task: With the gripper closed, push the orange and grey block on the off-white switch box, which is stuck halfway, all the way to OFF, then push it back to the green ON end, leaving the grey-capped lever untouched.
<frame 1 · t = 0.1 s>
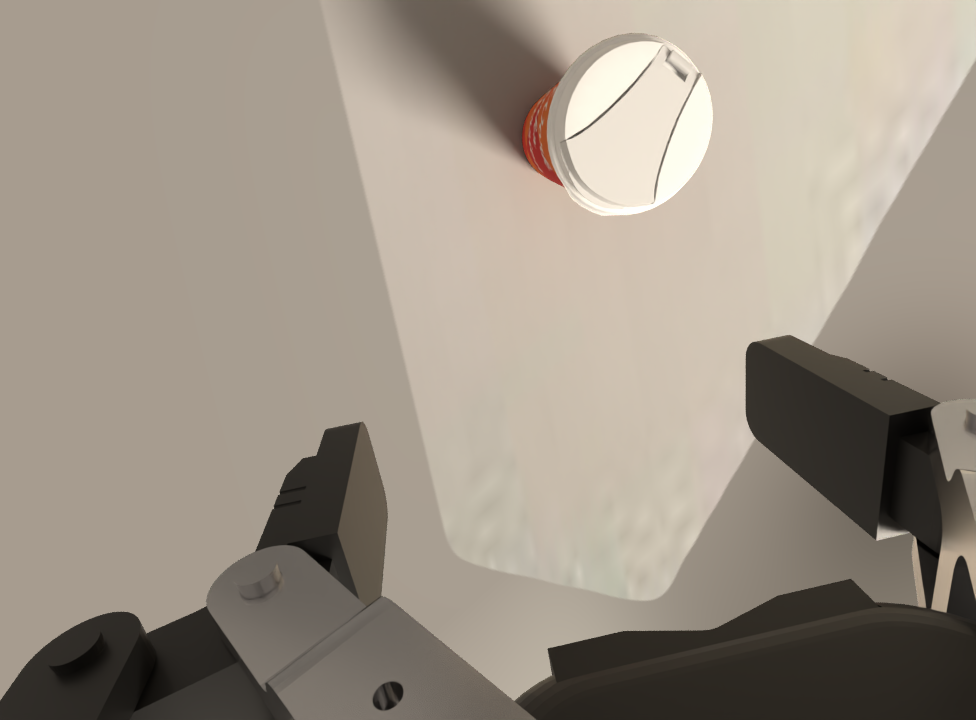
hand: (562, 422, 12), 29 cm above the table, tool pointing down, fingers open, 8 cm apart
paper cup: (561, 137, 38), on the table
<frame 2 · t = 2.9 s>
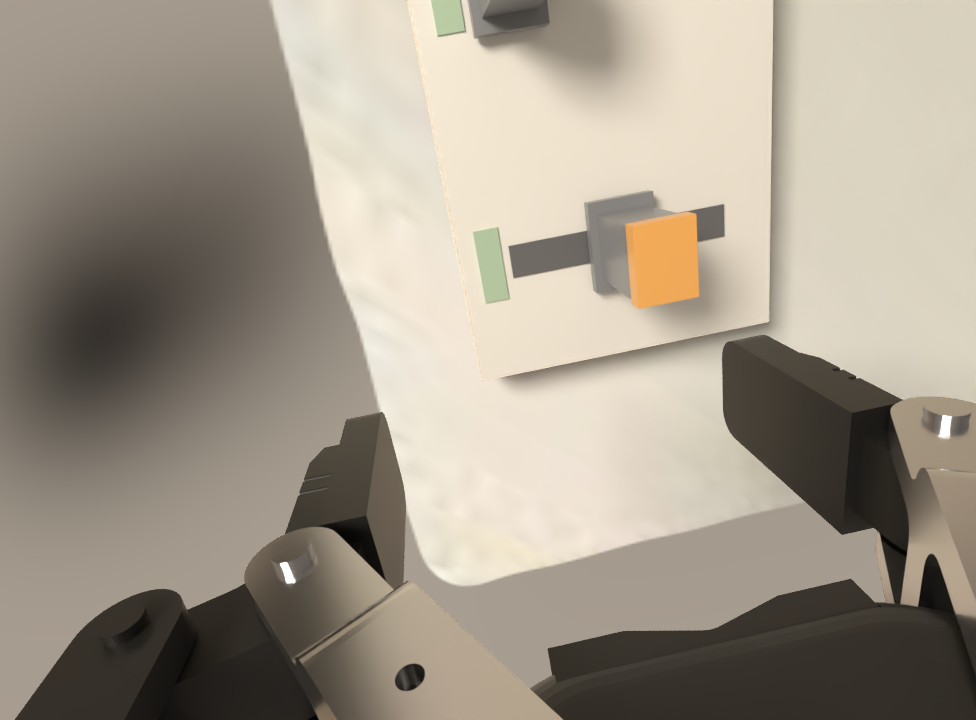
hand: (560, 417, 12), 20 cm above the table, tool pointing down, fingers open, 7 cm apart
switch box: (588, 115, 29), on the table
orange and grey block: (640, 251, 25), point 6 cm above the table, slide at 0.0 cm
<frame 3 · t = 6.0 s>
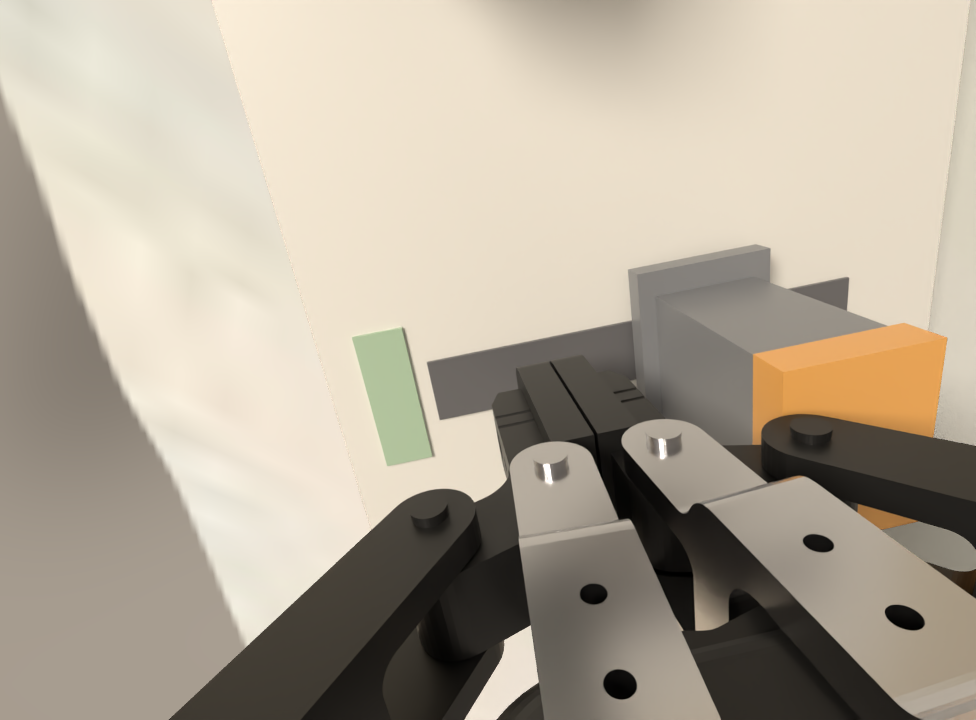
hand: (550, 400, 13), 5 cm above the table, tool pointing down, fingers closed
switch box: (586, 105, 15), on the table
orange and grey block: (758, 384, 12), point 6 cm above the table, slide at -1.3 cm, touching gripper
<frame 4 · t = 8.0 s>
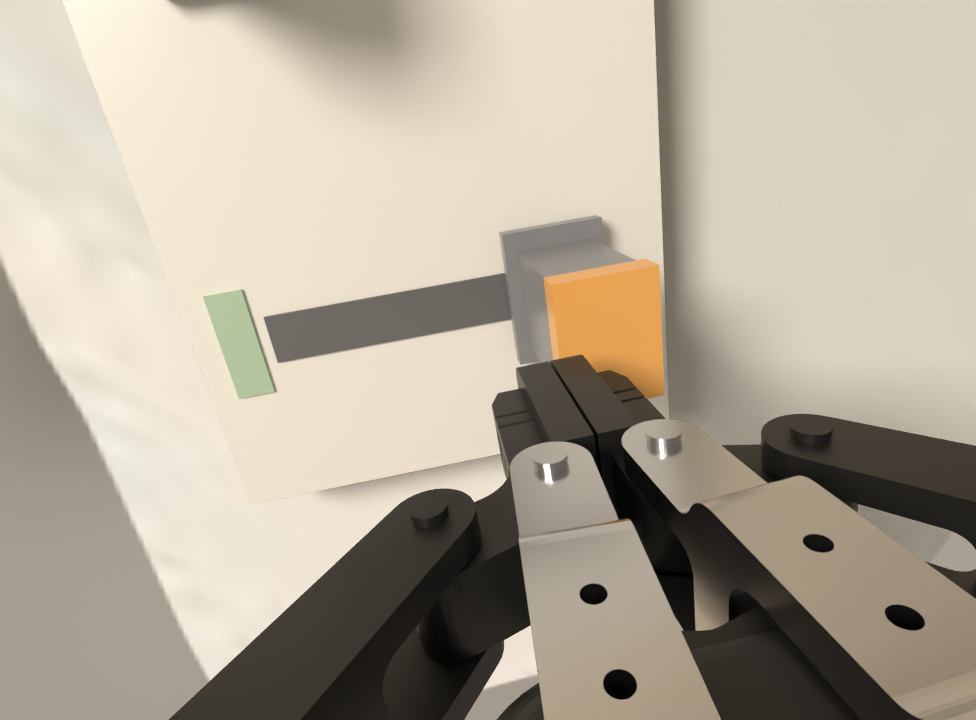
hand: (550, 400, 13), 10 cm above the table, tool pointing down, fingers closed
switch box: (399, 121, 19), on the table
orange and grey block: (578, 311, 16), point 6 cm above the table, slide at -4.1 cm
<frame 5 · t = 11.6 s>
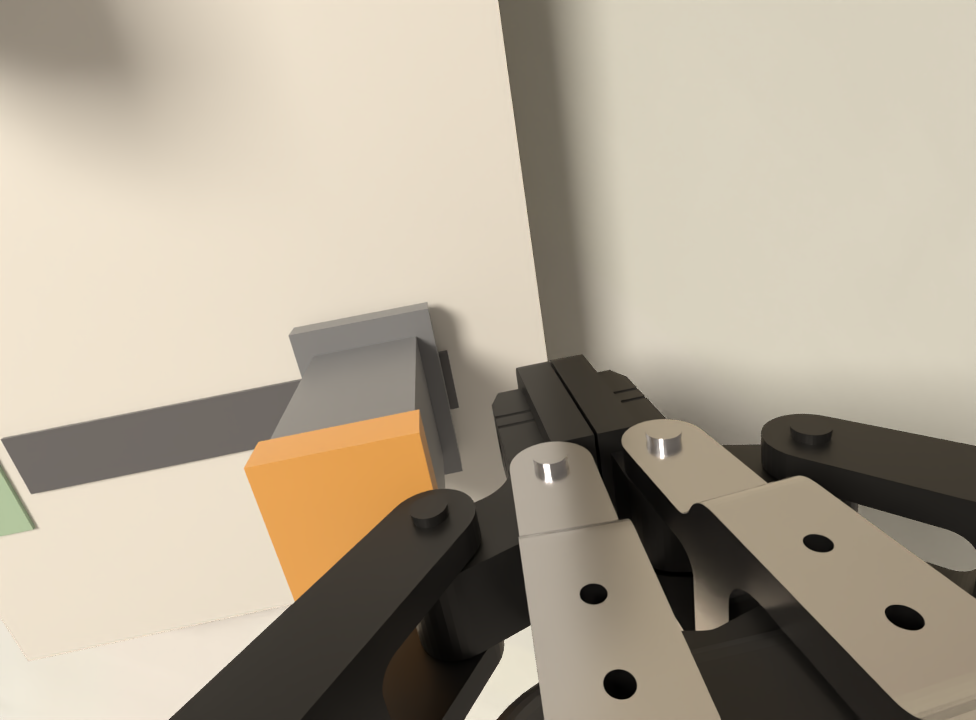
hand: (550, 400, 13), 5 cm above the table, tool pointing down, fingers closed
switch box: (200, 171, 15), on the table
orange and grey block: (374, 453, 11), point 6 cm above the table, slide at -3.7 cm, touching gripper
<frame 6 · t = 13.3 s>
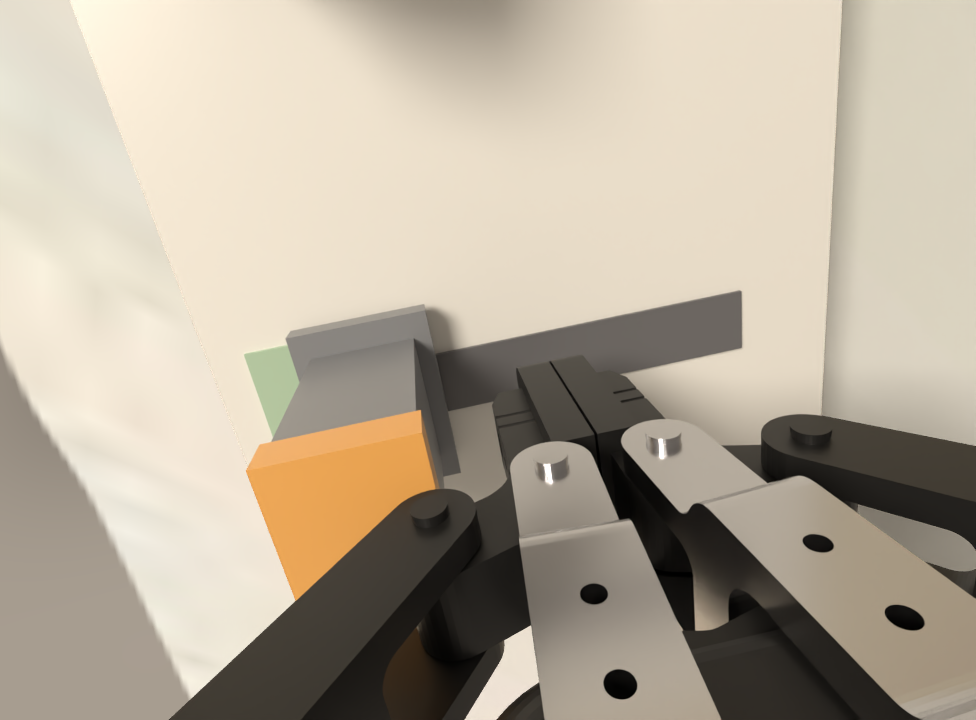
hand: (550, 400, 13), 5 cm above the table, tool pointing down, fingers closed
switch box: (486, 122, 15), on the table
orange and grey block: (373, 455, 11), point 6 cm above the table, slide at 4.2 cm, touching gripper
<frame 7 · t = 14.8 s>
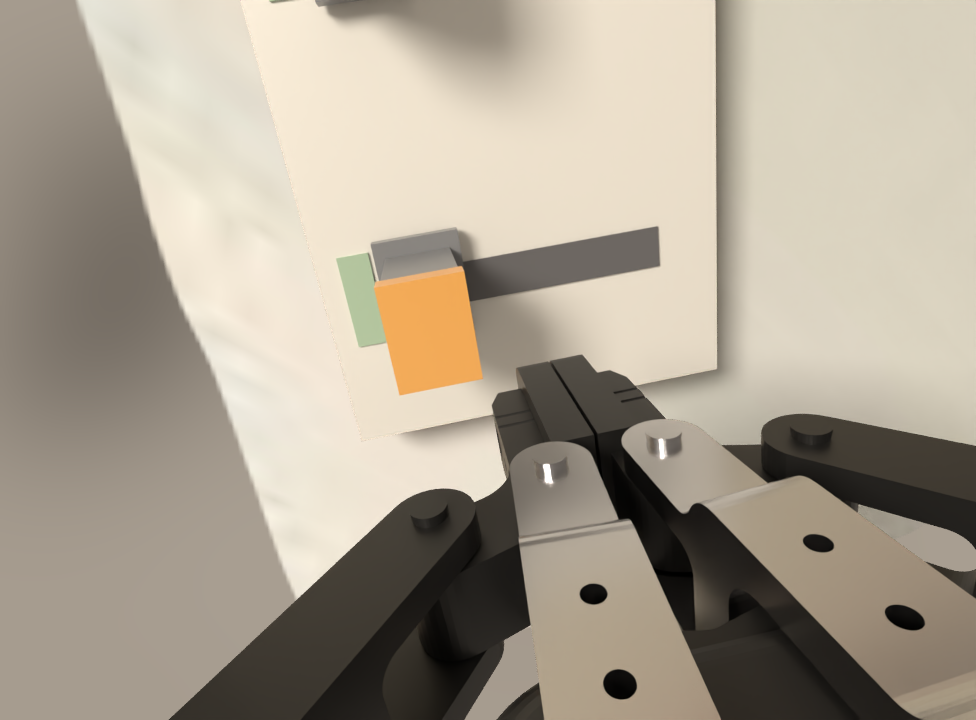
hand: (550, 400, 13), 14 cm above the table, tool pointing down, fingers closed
switch box: (492, 112, 23), on the table
orange and grey block: (427, 310, 19), point 6 cm above the table, slide at 4.1 cm
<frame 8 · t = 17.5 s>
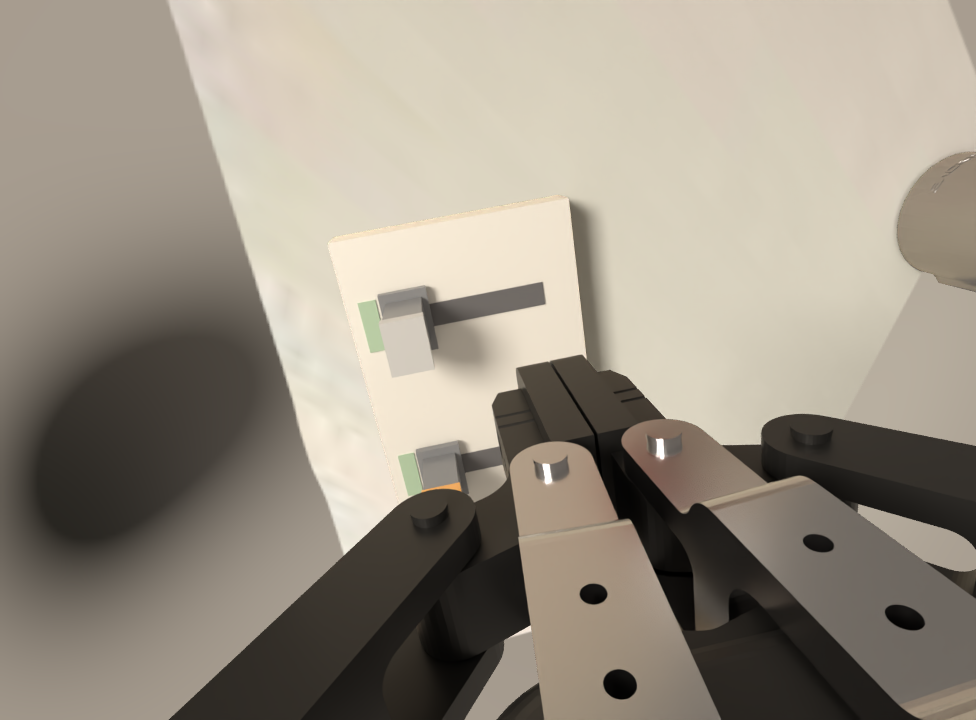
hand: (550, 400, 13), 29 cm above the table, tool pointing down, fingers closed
switch box: (476, 371, 43), on the table
orange and grey block: (444, 490, 40), point 6 cm above the table, slide at 4.1 cm
on lever: (408, 333, 35), point 6 cm above the table, slide at 4.0 cm
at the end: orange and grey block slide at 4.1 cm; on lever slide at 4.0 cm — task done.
